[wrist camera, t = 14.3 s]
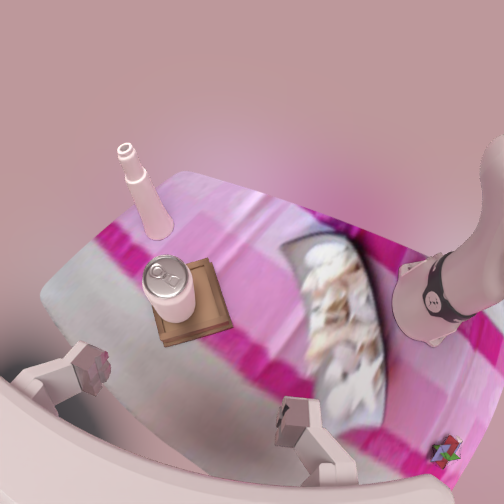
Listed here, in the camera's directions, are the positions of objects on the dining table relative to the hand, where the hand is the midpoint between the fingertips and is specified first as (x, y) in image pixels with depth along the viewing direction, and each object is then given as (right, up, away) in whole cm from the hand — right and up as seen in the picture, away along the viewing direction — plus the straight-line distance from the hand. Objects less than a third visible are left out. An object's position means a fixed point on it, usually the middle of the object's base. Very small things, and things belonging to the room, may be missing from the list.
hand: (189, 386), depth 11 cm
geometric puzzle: (+41, -35, +24) cm, 59 cm away
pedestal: (-8, -3, +36) cm, 37 cm away
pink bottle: (-16, +11, +42) cm, 46 cm away
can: (-9, -3, +32) cm, 33 cm away
